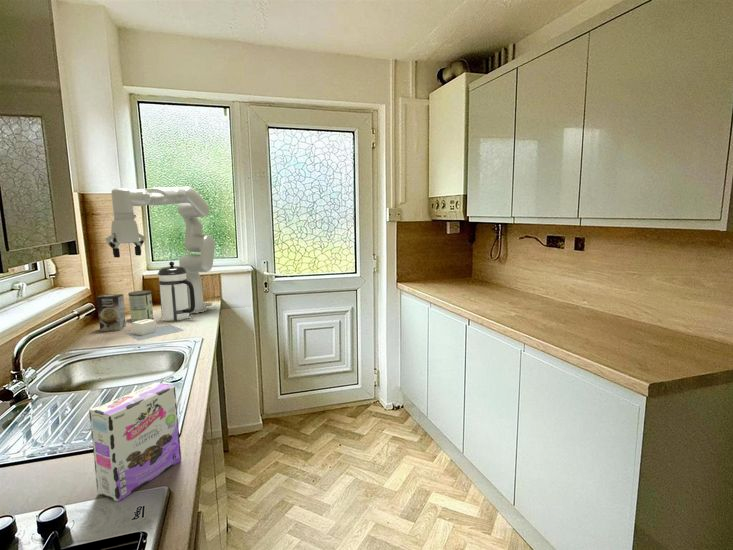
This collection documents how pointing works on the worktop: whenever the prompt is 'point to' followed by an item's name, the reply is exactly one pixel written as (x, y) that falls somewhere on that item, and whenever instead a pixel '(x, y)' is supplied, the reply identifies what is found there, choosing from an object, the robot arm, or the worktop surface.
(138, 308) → the coffee can
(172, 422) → the candy box
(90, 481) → the worktop surface
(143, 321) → the white striped cube
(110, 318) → the coffee box
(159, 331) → the base plate
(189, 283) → the coffee press
